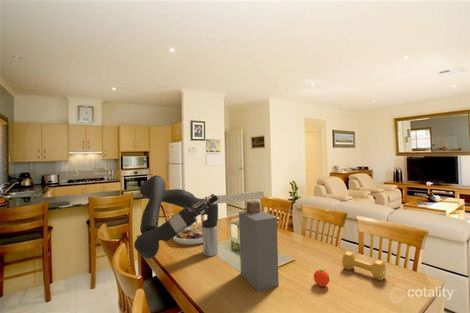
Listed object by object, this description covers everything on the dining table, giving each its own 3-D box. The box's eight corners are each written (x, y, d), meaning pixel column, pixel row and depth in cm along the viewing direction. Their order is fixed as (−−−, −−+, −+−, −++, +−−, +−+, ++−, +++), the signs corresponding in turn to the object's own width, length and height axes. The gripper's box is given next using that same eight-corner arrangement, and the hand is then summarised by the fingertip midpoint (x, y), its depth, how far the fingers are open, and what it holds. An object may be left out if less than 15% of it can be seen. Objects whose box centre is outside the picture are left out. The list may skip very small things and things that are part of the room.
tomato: (317, 278, 117) (317, 264, 117) (332, 283, 113) (332, 268, 113) (311, 286, 111) (311, 270, 111) (326, 291, 107) (326, 275, 106)
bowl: (169, 236, 185) (169, 225, 184) (206, 229, 197) (206, 220, 197) (177, 250, 157) (176, 238, 157) (220, 241, 170) (219, 230, 170)
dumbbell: (387, 276, 117) (387, 260, 117) (381, 284, 111) (380, 266, 111) (348, 263, 131) (347, 249, 131) (340, 269, 125) (340, 254, 125)
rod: (204, 203, 106) (204, 196, 106) (260, 197, 117) (260, 191, 117) (206, 204, 103) (206, 197, 103) (263, 198, 115) (263, 191, 114)
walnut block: (246, 211, 124) (246, 201, 124) (255, 210, 126) (255, 200, 126) (251, 213, 119) (250, 203, 119) (260, 212, 121) (259, 202, 121)
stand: (240, 273, 124) (238, 211, 123) (259, 268, 128) (257, 209, 128) (257, 292, 107) (255, 220, 107) (278, 285, 112) (276, 217, 111)
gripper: (180, 217, 94) (216, 191, 99) (174, 209, 107) (206, 187, 112) (190, 232, 95) (225, 206, 101) (183, 223, 108) (214, 200, 114)
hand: (215, 196), depth 107 cm, fingers closed on rod, 3 cm apart
